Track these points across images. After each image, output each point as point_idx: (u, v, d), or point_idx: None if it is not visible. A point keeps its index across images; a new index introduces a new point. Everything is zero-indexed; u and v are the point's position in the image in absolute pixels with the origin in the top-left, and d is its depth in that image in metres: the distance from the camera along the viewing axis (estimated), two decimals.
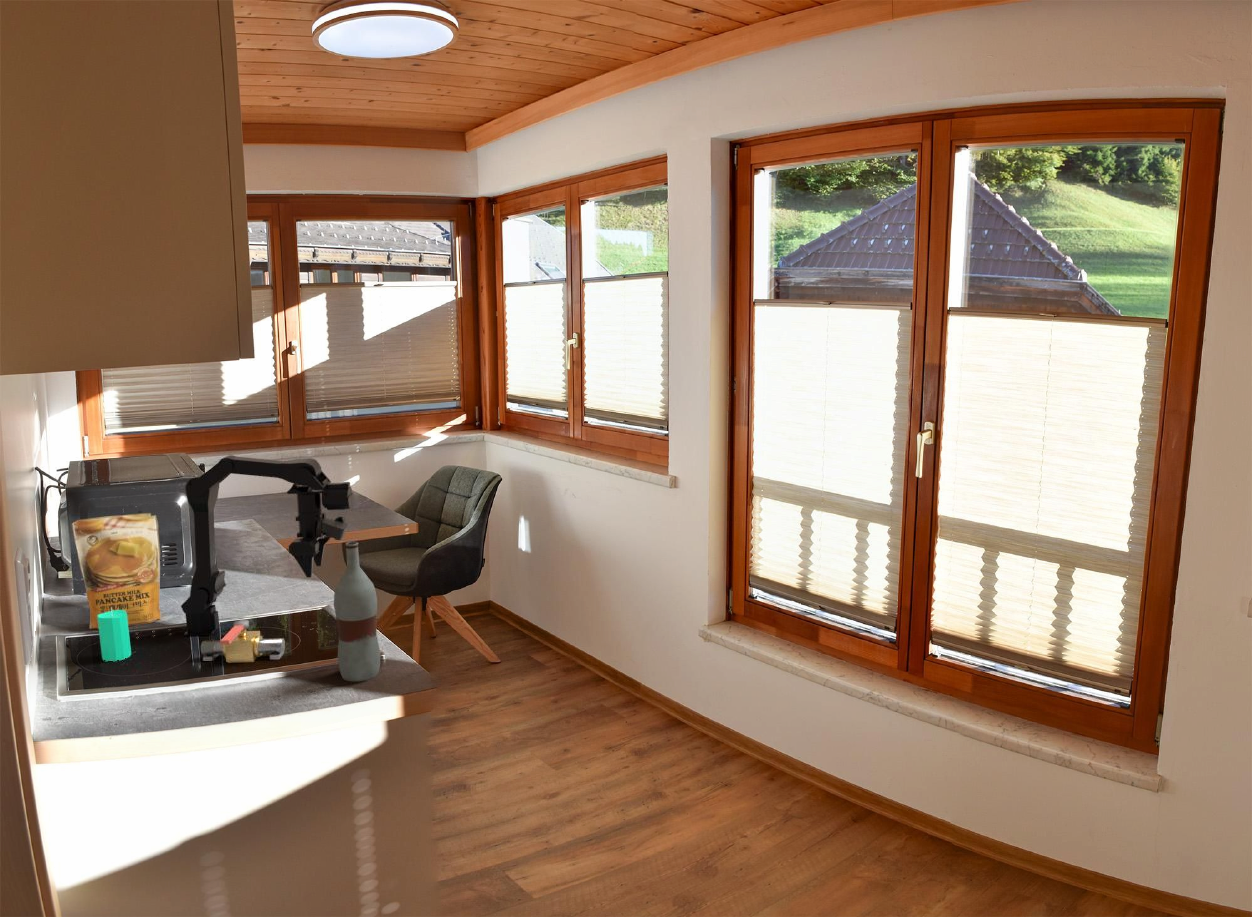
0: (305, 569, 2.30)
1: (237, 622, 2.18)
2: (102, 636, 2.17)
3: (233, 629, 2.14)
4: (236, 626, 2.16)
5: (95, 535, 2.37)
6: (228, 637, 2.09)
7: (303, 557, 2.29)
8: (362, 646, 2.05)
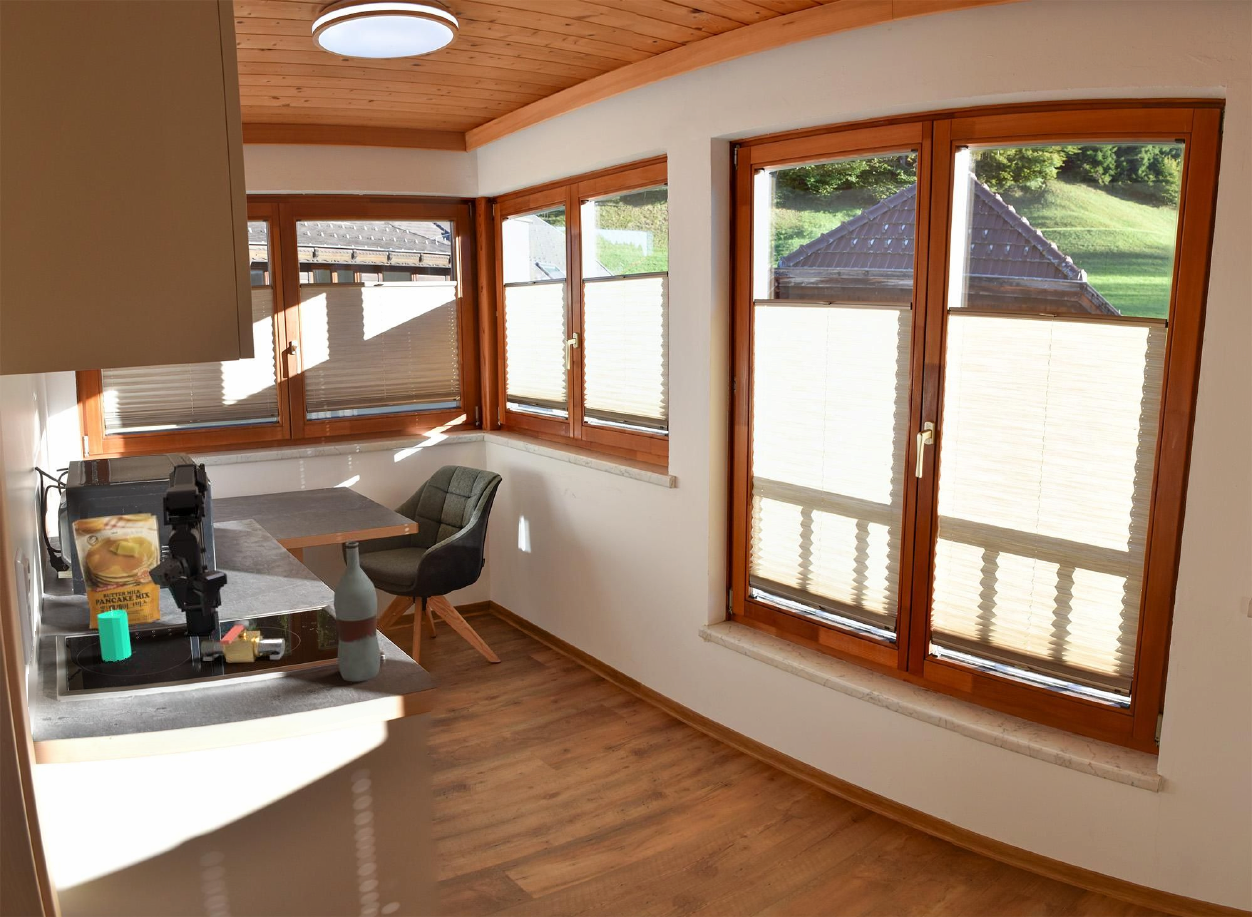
0: None
1: (237, 622, 2.18)
2: (102, 636, 2.17)
3: (233, 629, 2.14)
4: (236, 626, 2.16)
5: (95, 535, 2.37)
6: (228, 637, 2.09)
7: None
8: (362, 646, 2.05)
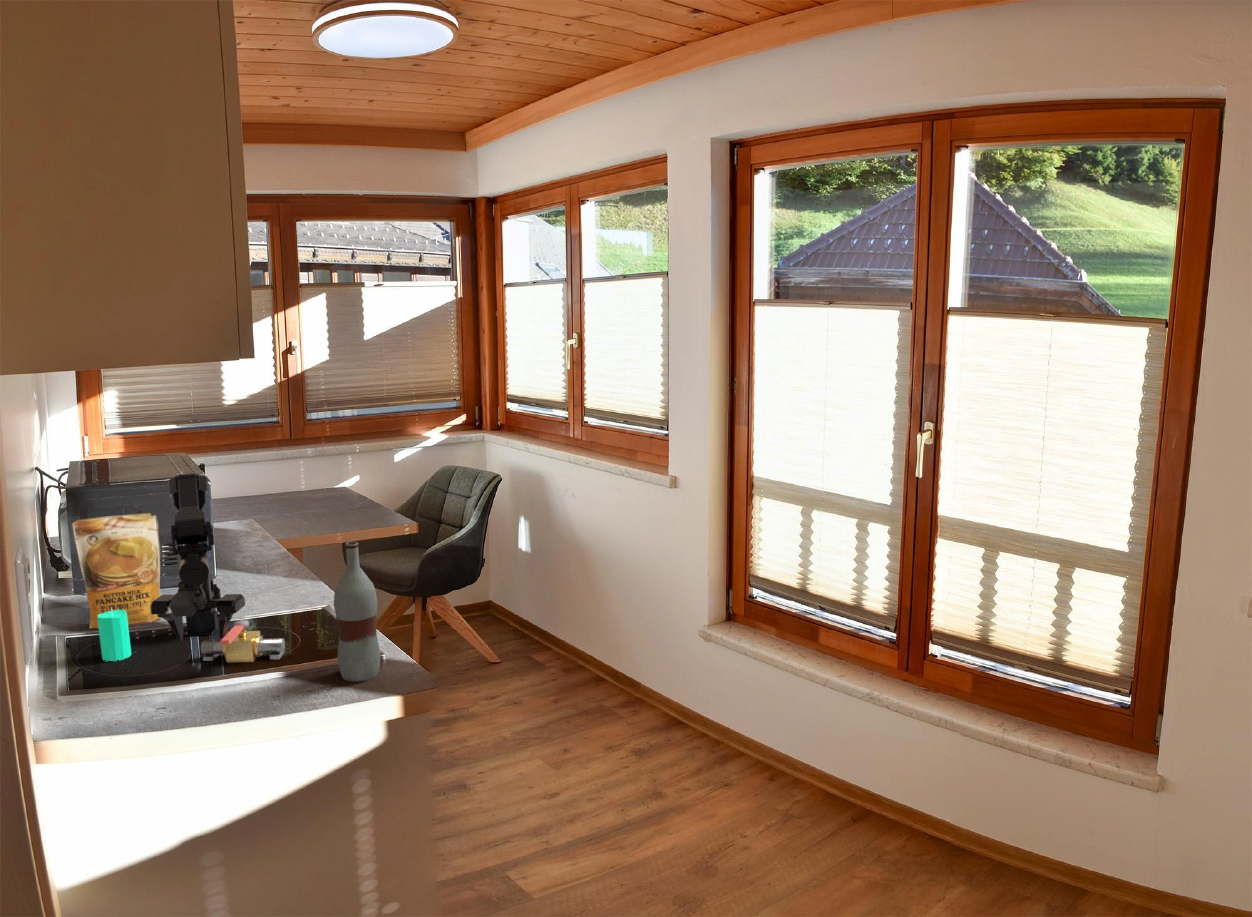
0: None
1: (237, 622, 2.18)
2: (102, 636, 2.17)
3: (233, 629, 2.14)
4: (236, 626, 2.16)
5: (95, 535, 2.37)
6: (228, 637, 2.09)
7: None
8: (362, 646, 2.05)
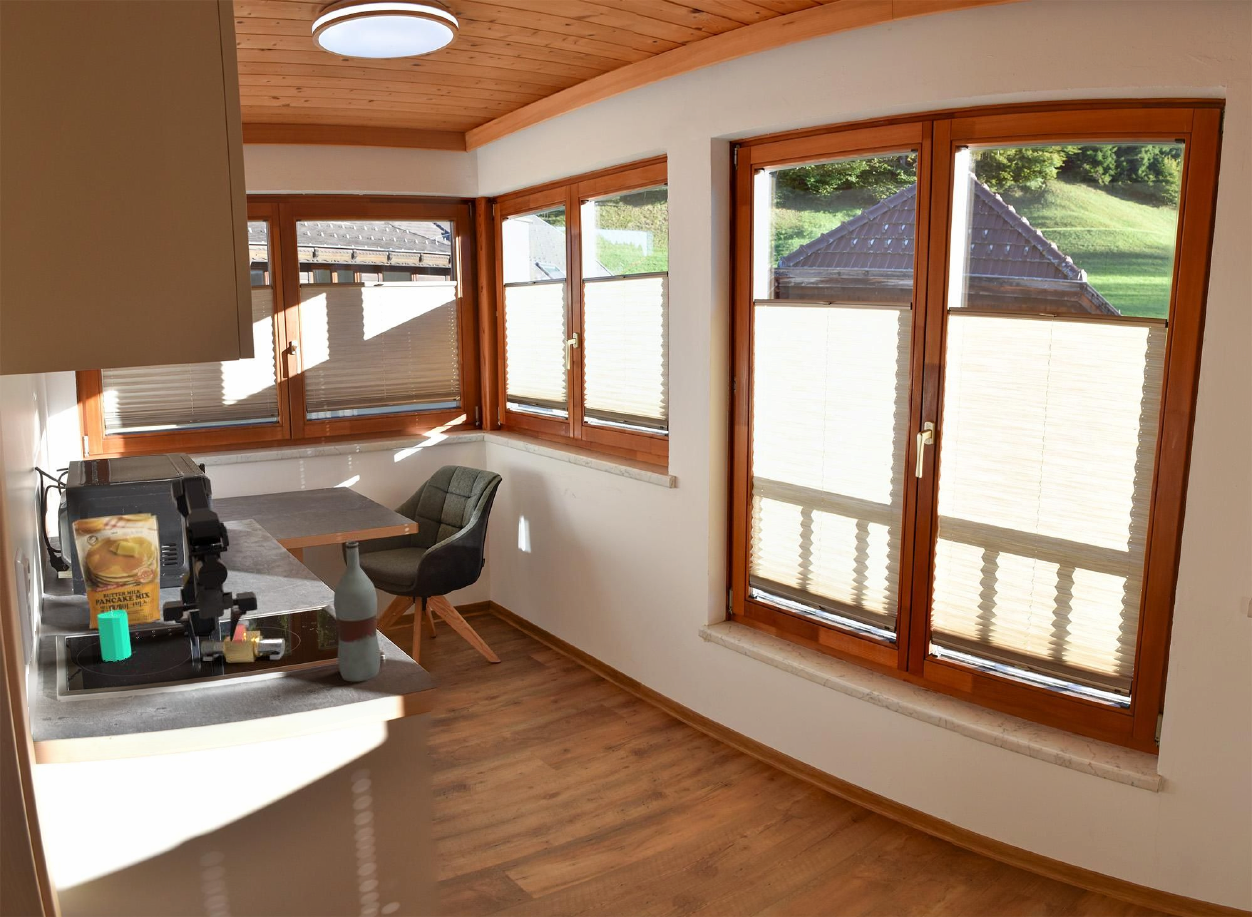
0: None
1: None
2: (102, 636, 2.17)
3: (238, 629, 2.14)
4: (239, 626, 2.16)
5: (95, 535, 2.37)
6: (239, 636, 2.10)
7: None
8: (362, 646, 2.05)
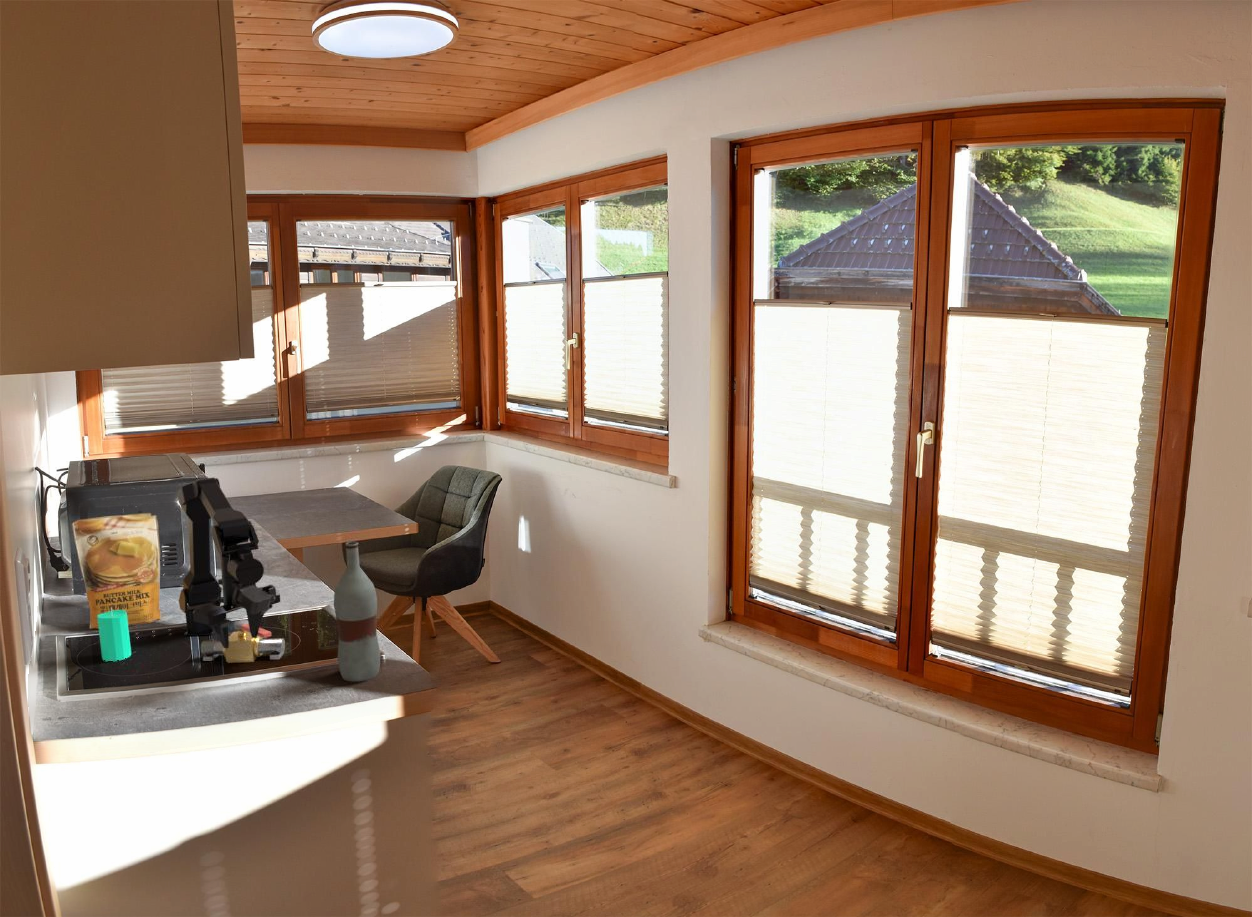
0: (220, 638, 2.05)
1: (237, 623, 2.17)
2: (102, 636, 2.17)
3: None
4: (245, 625, 2.17)
5: (95, 535, 2.37)
6: (263, 631, 2.13)
7: None
8: (362, 646, 2.05)
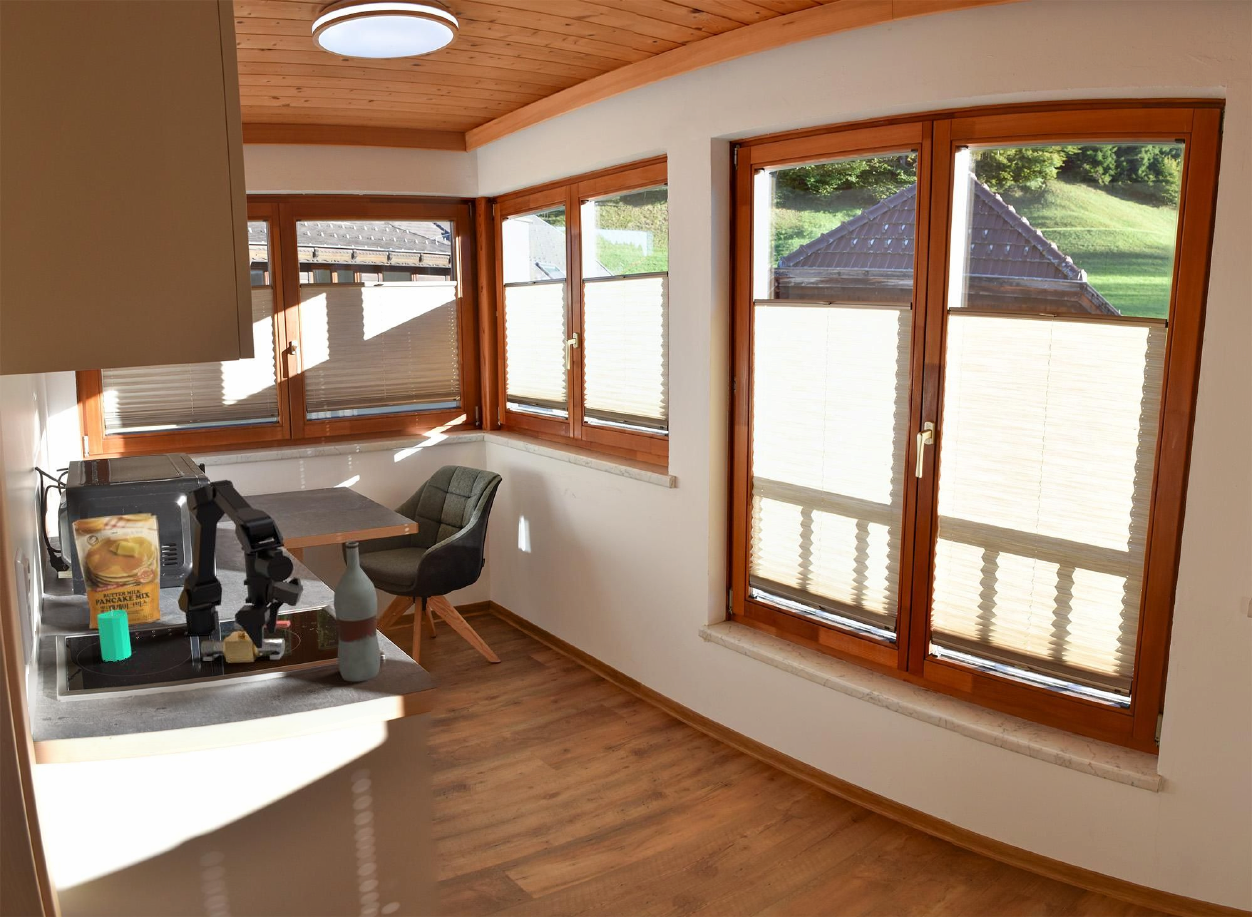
0: (255, 639, 2.04)
1: None
2: (102, 636, 2.17)
3: None
4: None
5: (95, 535, 2.37)
6: (281, 621, 2.19)
7: (252, 626, 2.03)
8: (362, 646, 2.05)
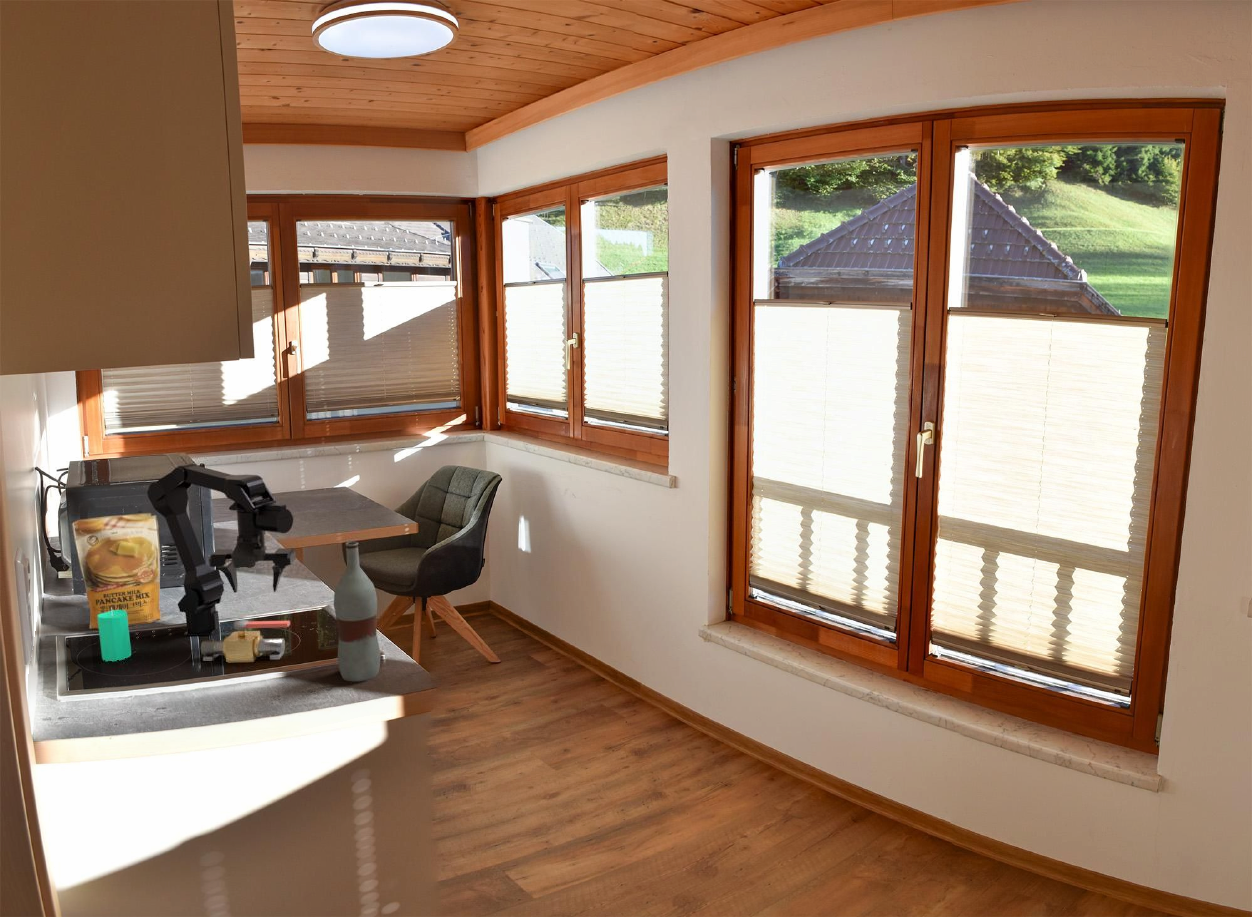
0: None
1: (239, 623, 2.17)
2: (102, 636, 2.17)
3: (258, 623, 2.18)
4: (250, 623, 2.18)
5: (95, 535, 2.37)
6: (281, 621, 2.19)
7: None
8: (362, 646, 2.05)
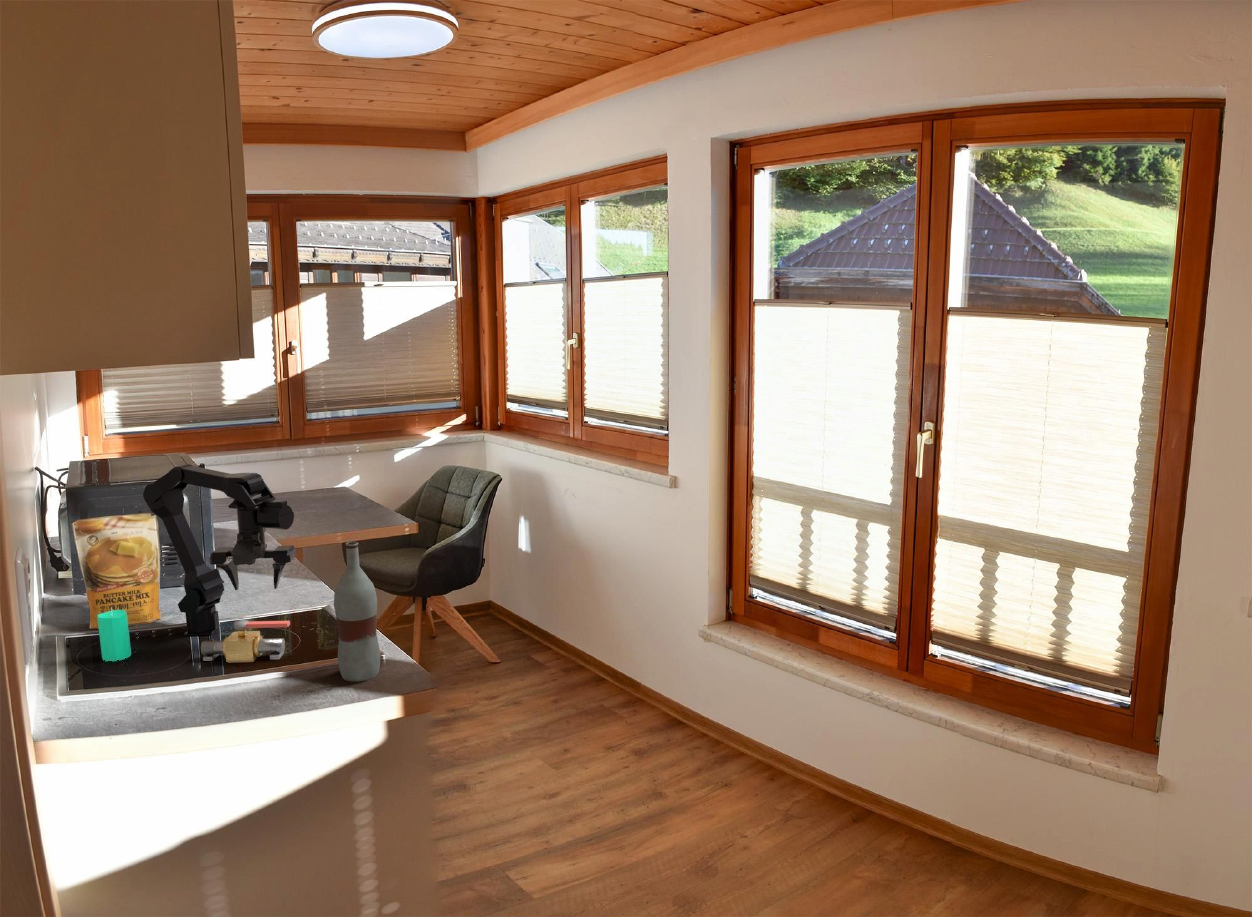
0: None
1: (239, 623, 2.17)
2: (102, 636, 2.17)
3: (258, 623, 2.18)
4: (250, 623, 2.18)
5: (95, 535, 2.37)
6: (281, 621, 2.19)
7: None
8: (362, 646, 2.05)
